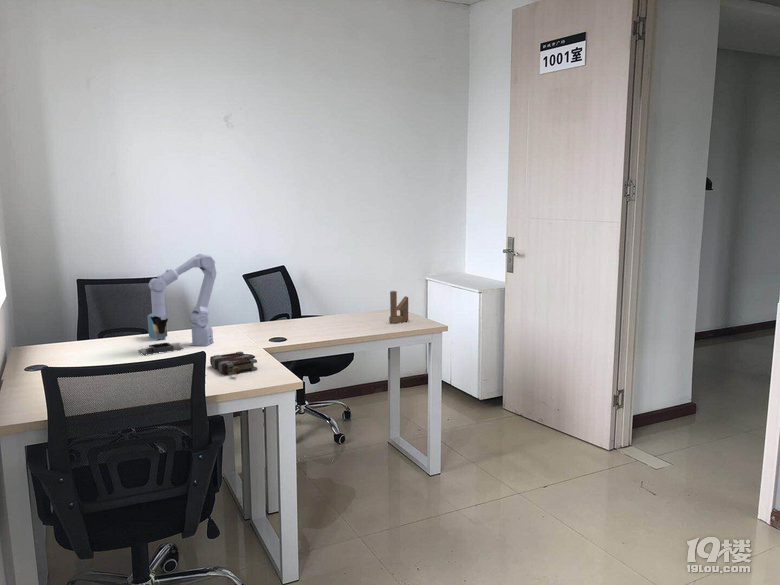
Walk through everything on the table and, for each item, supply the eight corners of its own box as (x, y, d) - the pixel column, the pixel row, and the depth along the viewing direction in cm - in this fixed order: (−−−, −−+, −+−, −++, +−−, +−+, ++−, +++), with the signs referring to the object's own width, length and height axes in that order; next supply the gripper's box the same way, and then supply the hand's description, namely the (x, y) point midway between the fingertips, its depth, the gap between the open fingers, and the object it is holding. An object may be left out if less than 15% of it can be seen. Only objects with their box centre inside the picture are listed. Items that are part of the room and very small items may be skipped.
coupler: (167, 336, 302) (166, 323, 301) (156, 337, 299) (155, 325, 298) (164, 334, 306) (163, 322, 305) (153, 335, 303) (152, 323, 302)
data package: (166, 339, 326) (164, 316, 324) (157, 341, 323) (155, 317, 322) (157, 335, 335) (155, 313, 333) (148, 336, 333) (147, 314, 331)
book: (242, 361, 284) (241, 350, 283) (264, 374, 264) (264, 362, 263) (209, 366, 276) (209, 355, 275) (230, 380, 256) (229, 368, 255)
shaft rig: (177, 345, 313) (177, 340, 312) (183, 349, 305) (183, 344, 305) (138, 351, 302) (137, 346, 302) (143, 355, 295) (142, 350, 294)
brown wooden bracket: (408, 321, 363) (408, 290, 360) (392, 323, 357) (392, 292, 355) (405, 320, 366) (404, 289, 363) (389, 322, 361) (388, 291, 358)
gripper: (145, 302, 304) (147, 330, 306) (153, 307, 292) (155, 336, 294) (160, 301, 308) (162, 328, 310) (169, 305, 296) (171, 334, 298)
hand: (160, 332), depth 303 cm, fingers closed on coupler, 5 cm apart
